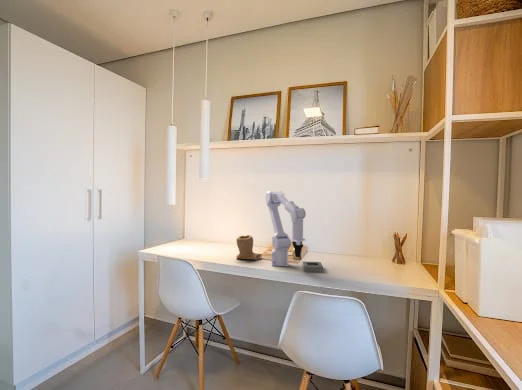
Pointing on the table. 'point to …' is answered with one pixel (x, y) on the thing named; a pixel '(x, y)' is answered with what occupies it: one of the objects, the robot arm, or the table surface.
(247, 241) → the brown boot
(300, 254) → the piston
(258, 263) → the table surface
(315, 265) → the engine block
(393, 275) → the table surface
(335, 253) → the table surface
